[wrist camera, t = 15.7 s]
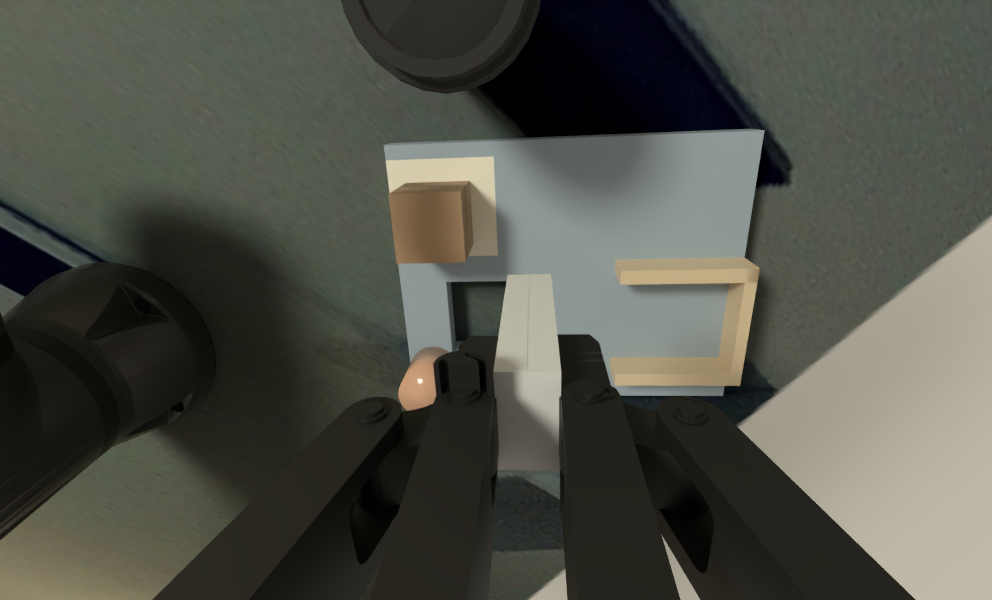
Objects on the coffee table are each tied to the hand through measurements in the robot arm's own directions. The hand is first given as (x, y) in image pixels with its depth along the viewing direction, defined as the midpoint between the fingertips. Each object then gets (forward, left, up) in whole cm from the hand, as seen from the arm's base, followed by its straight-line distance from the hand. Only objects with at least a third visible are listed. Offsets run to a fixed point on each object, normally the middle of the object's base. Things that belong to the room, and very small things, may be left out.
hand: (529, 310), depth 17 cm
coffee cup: (-4, +12, -21) cm, 24 cm away
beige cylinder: (-8, -13, -18) cm, 24 cm away
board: (+2, -6, -20) cm, 21 cm away
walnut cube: (-7, 0, -18) cm, 20 cm away
